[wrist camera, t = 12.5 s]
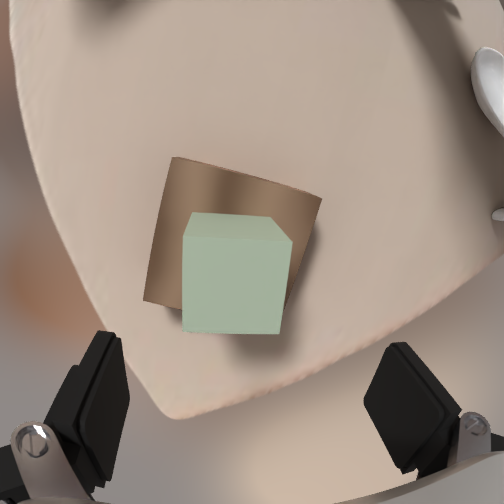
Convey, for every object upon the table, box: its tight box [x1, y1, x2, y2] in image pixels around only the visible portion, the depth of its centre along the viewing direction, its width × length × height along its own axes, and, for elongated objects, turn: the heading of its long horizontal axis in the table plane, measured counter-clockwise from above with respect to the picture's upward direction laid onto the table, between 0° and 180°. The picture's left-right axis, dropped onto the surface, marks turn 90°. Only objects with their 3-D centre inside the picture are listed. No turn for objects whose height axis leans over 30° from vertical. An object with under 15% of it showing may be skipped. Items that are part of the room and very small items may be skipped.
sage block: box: [182, 212, 293, 334], centre depth 21 cm, size 6×6×7 cm
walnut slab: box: [143, 157, 322, 314], centre depth 26 cm, size 12×12×5 cm
